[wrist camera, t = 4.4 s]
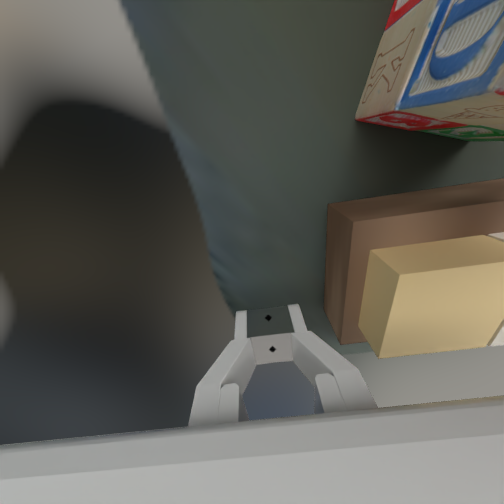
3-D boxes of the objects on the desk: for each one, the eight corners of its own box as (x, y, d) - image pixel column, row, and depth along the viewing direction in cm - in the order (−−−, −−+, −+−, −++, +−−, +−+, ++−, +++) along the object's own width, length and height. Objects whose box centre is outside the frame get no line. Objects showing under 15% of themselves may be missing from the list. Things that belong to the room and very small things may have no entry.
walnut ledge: (555, 170, 11) (658, 178, 8) (491, 288, 14) (547, 321, 12) (327, 204, 11) (353, 222, 8) (323, 309, 15) (340, 344, 12)
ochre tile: (483, 234, 9) (542, 256, 7) (447, 315, 11) (485, 347, 9) (370, 250, 9) (399, 275, 7) (357, 326, 11) (378, 358, 10)
